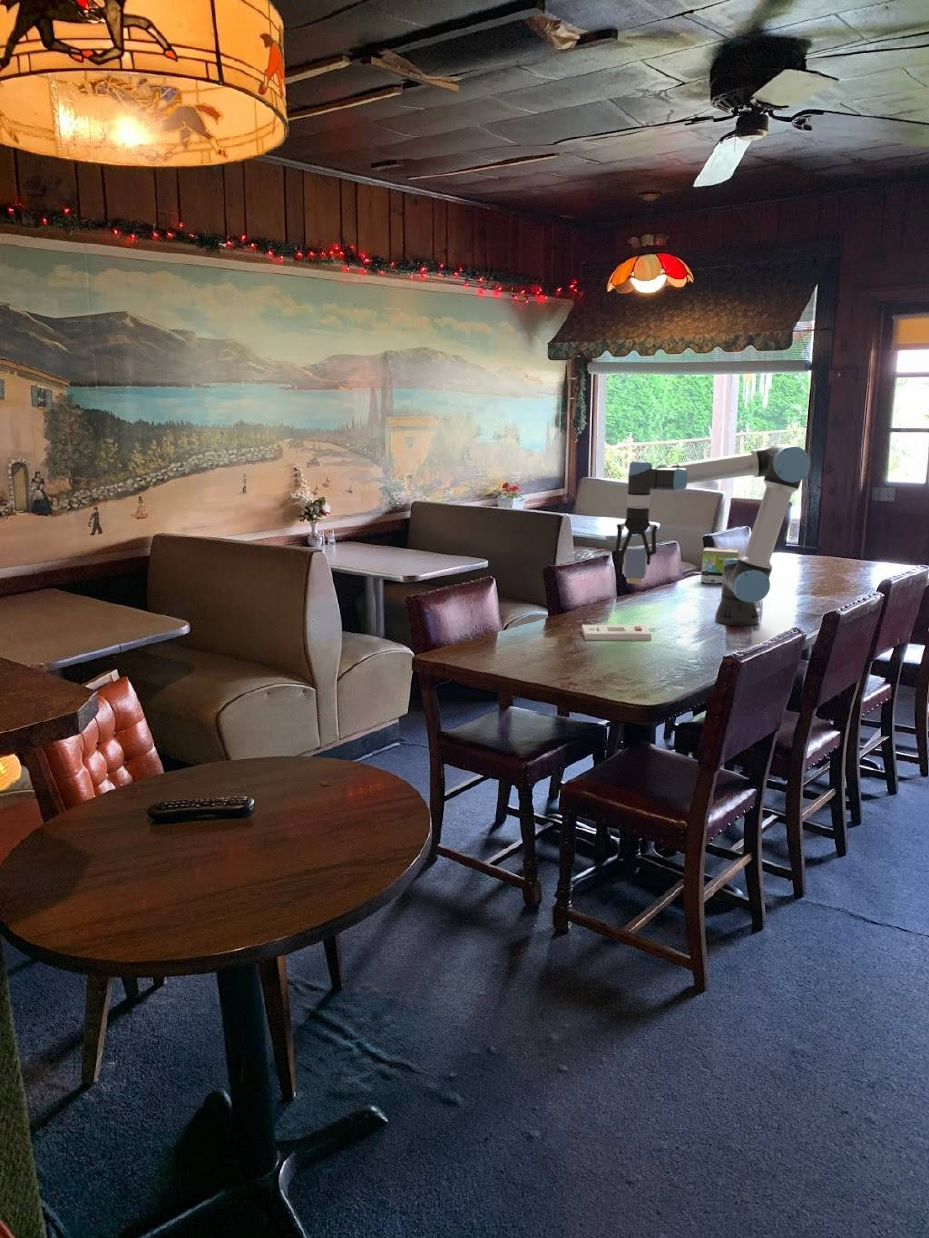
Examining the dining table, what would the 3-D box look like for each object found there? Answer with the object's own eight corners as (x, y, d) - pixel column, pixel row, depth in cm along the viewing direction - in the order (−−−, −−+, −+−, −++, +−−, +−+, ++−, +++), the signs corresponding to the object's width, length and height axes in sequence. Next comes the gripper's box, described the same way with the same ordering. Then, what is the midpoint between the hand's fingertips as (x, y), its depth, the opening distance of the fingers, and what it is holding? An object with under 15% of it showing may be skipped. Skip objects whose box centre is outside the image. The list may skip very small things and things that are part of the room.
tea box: (700, 583, 410) (702, 550, 407) (702, 579, 419) (704, 546, 416) (736, 585, 405) (738, 551, 402) (737, 581, 415) (739, 548, 411)
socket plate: (645, 630, 325) (645, 623, 324) (651, 639, 312) (651, 632, 312) (582, 630, 326) (582, 623, 325) (585, 639, 313) (585, 632, 313)
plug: (642, 580, 326) (644, 546, 323) (644, 584, 320) (646, 549, 317) (623, 580, 327) (625, 546, 324) (625, 583, 320) (627, 549, 318)
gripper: (665, 506, 320) (661, 572, 326) (608, 505, 322) (605, 571, 327) (668, 509, 313) (663, 576, 318) (610, 507, 314) (606, 574, 320)
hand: (634, 573), depth 323 cm, fingers closed on plug, 6 cm apart
